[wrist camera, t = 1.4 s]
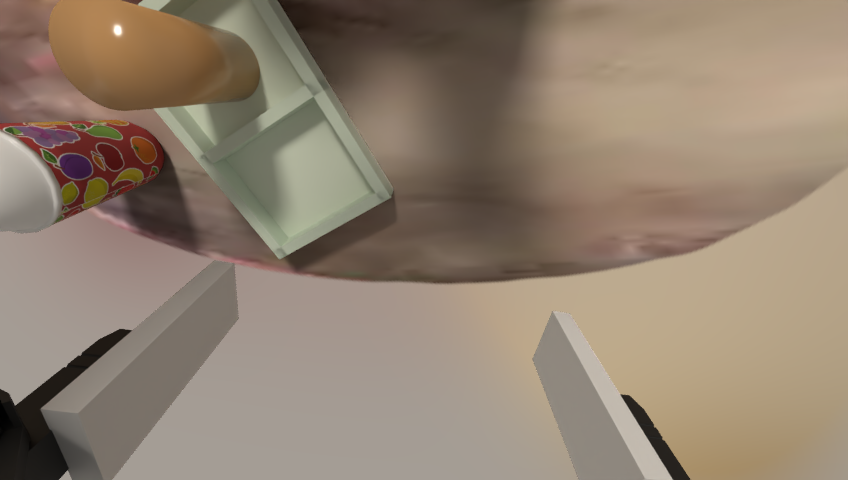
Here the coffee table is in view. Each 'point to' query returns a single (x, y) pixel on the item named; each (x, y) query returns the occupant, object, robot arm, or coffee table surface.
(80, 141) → the smoothie
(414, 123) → the coffee table surface
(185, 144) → the green divided tray
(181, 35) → the tan rounded capsule
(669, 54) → the coffee table surface
